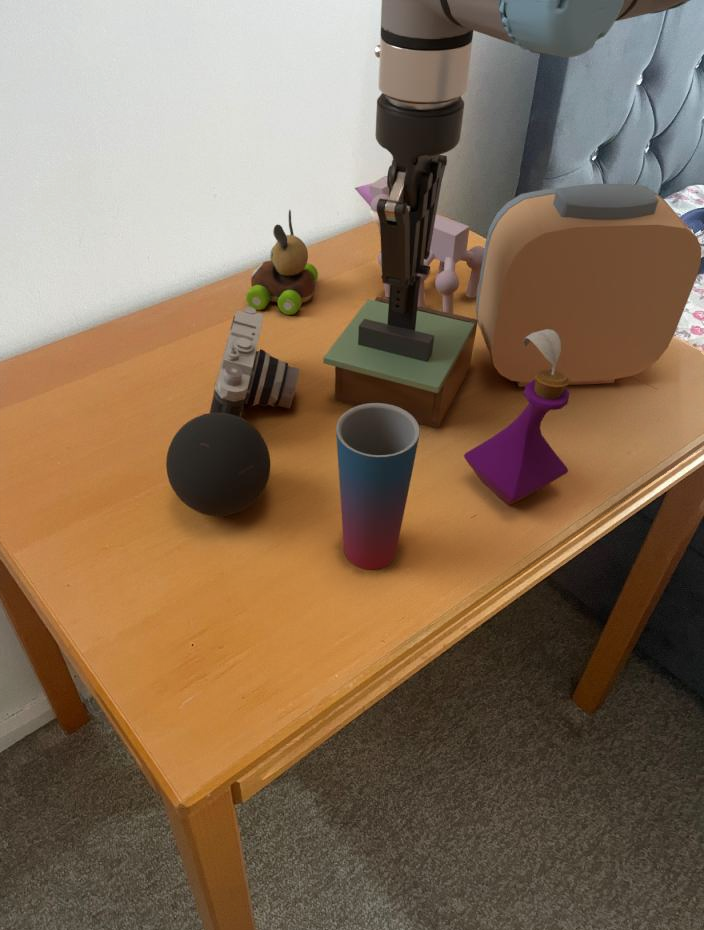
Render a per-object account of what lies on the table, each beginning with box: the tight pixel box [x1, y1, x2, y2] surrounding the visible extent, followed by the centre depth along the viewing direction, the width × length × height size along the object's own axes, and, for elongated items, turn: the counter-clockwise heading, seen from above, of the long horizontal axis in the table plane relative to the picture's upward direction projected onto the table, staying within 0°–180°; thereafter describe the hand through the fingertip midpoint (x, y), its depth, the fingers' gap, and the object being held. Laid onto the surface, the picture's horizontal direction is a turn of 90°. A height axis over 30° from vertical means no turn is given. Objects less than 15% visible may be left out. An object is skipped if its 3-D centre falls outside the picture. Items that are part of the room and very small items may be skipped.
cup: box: [335, 403, 421, 570], centre depth 67 cm, size 7×7×15 cm
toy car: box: [245, 209, 319, 316], centre depth 100 cm, size 9×9×11 cm
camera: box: [209, 305, 300, 418], centre depth 84 cm, size 16×9×10 cm, turn 176°
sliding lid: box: [322, 299, 475, 393], centre depth 82 cm, size 13×13×3 cm
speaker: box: [165, 412, 271, 517], centre depth 73 cm, size 10×10×10 cm
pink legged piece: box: [354, 175, 485, 314], centre depth 100 cm, size 20×11×14 cm, turn 48°
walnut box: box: [334, 296, 478, 429], centre depth 88 cm, size 13×13×7 cm
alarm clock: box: [475, 183, 702, 388], centre depth 85 cm, size 21×10×22 cm, turn 94°
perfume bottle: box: [463, 329, 570, 506], centre depth 71 cm, size 8×8×18 cm
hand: (400, 331), depth 82 cm, fingers closed
